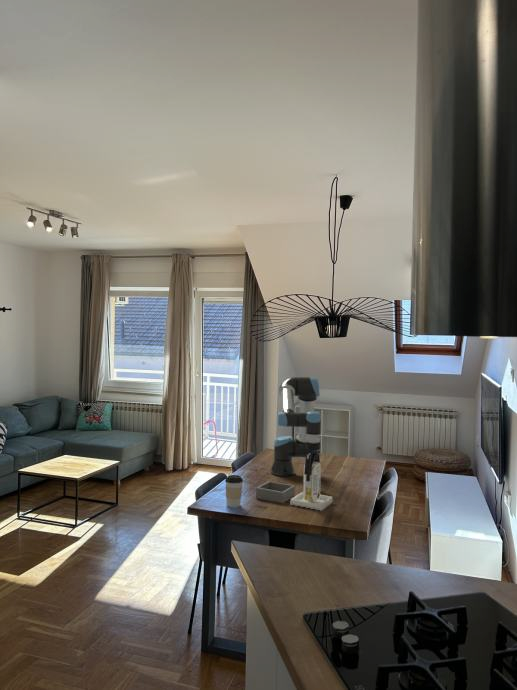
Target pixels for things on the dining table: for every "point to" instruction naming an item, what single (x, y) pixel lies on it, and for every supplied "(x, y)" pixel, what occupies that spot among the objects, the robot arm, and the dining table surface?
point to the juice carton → (313, 483)
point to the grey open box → (275, 491)
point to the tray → (311, 502)
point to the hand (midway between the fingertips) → (312, 485)
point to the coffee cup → (233, 490)
